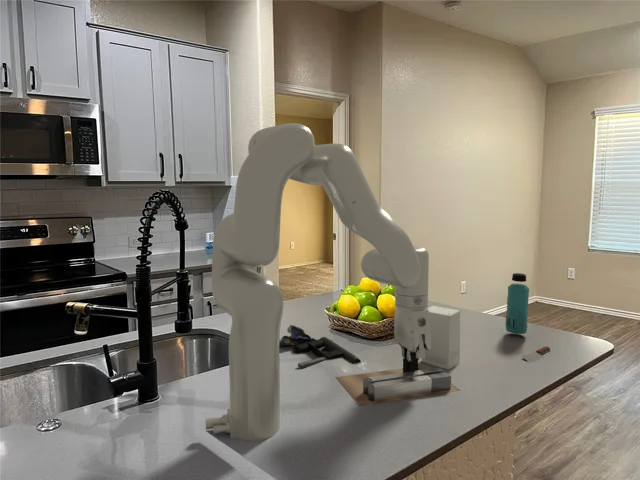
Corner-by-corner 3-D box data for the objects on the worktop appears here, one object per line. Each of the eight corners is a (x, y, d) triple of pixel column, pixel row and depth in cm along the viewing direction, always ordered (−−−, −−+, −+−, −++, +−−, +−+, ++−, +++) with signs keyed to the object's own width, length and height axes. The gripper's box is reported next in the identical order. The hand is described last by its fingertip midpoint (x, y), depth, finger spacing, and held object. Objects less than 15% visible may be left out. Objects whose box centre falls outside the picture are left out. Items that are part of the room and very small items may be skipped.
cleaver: (535, 363, 126) (519, 353, 130) (533, 367, 127) (517, 358, 130) (562, 353, 133) (546, 344, 137) (560, 358, 134) (544, 349, 138)
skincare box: (460, 368, 123) (462, 310, 121) (447, 375, 119) (450, 315, 117) (431, 359, 129) (433, 304, 127) (418, 366, 124) (420, 309, 122)
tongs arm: (365, 395, 104) (365, 382, 104) (361, 391, 106) (361, 378, 106) (443, 383, 110) (443, 370, 110) (438, 379, 112) (438, 367, 112)
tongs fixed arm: (370, 401, 101) (370, 387, 101) (366, 397, 103) (366, 383, 103) (450, 389, 108) (451, 375, 107) (445, 385, 110) (446, 372, 109)
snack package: (277, 337, 147) (272, 350, 136) (280, 318, 147) (276, 329, 135) (315, 344, 147) (313, 357, 136) (318, 325, 146) (317, 336, 135)
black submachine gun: (310, 370, 116) (365, 356, 124) (279, 345, 134) (329, 333, 141) (311, 383, 117) (365, 368, 124) (280, 356, 135) (329, 344, 142)
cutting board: (359, 412, 100) (359, 405, 100) (335, 383, 114) (335, 377, 114) (460, 396, 107) (460, 390, 107) (426, 370, 122) (426, 365, 121)
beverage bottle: (528, 334, 150) (532, 273, 148) (524, 340, 145) (529, 276, 142) (506, 330, 154) (510, 270, 151) (502, 336, 148) (506, 274, 146)
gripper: (443, 306, 103) (441, 385, 106) (409, 290, 117) (409, 360, 120) (413, 310, 101) (411, 390, 104) (382, 293, 115) (382, 364, 118)
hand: (410, 374), depth 112 cm, fingers closed
